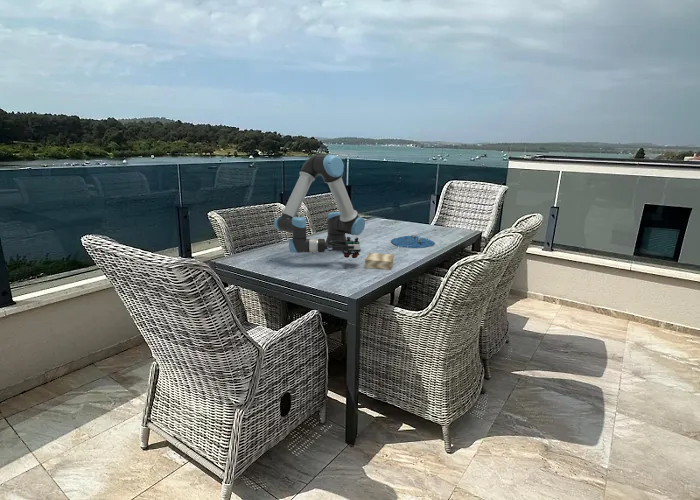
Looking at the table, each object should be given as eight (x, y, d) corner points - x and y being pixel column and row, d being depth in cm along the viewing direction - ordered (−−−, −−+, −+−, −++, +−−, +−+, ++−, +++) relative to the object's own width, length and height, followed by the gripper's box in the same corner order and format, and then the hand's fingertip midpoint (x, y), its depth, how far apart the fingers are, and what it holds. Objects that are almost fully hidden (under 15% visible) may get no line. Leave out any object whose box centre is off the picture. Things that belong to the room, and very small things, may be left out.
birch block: (365, 268, 206) (365, 259, 204) (369, 261, 219) (369, 253, 218) (390, 270, 203) (391, 261, 202) (393, 263, 216) (393, 254, 215)
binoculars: (340, 241, 201) (346, 235, 209) (341, 259, 204) (346, 253, 213) (356, 242, 198) (361, 236, 207) (357, 261, 202) (362, 254, 211)
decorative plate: (435, 252, 245) (435, 244, 243) (389, 248, 250) (389, 241, 248) (434, 239, 272) (434, 232, 271) (392, 237, 277) (392, 230, 276)
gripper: (318, 247, 217) (358, 247, 217) (316, 257, 199) (360, 256, 199) (318, 234, 215) (358, 234, 215) (316, 243, 196) (360, 243, 197)
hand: (359, 245), depth 207 cm, fingers closed on binoculars, 6 cm apart
